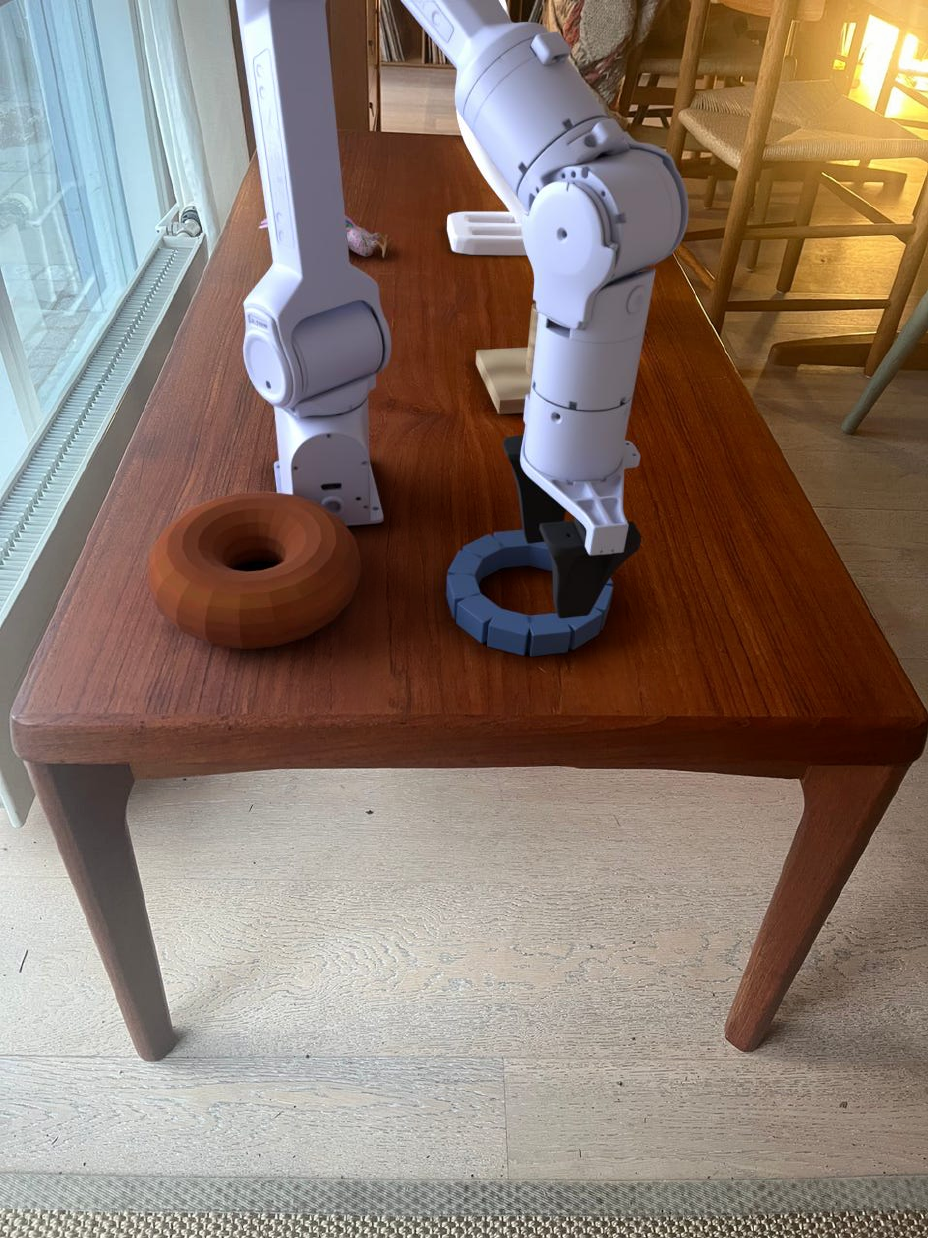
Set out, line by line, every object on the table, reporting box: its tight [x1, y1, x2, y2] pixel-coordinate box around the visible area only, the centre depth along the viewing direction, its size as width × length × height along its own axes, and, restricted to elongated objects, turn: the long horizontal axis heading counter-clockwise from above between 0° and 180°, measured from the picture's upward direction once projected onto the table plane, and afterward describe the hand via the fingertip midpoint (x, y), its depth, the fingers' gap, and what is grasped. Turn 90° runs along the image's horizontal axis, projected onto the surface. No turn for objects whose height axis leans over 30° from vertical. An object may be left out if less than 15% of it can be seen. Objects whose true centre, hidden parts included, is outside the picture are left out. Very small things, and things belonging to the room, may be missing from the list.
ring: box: [445, 529, 614, 657], centre depth 71 cm, size 12×12×2 cm
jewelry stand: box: [446, 0, 528, 256], centre depth 118 cm, size 25×16×25 cm, turn 6°
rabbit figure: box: [258, 206, 388, 259], centre depth 115 cm, size 6×6×15 cm
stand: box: [475, 302, 539, 415], centre depth 93 cm, size 10×10×8 cm
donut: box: [146, 490, 362, 650], centre depth 69 cm, size 15×15×5 cm
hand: (555, 574), depth 63 cm, fingers open, 7 cm apart
